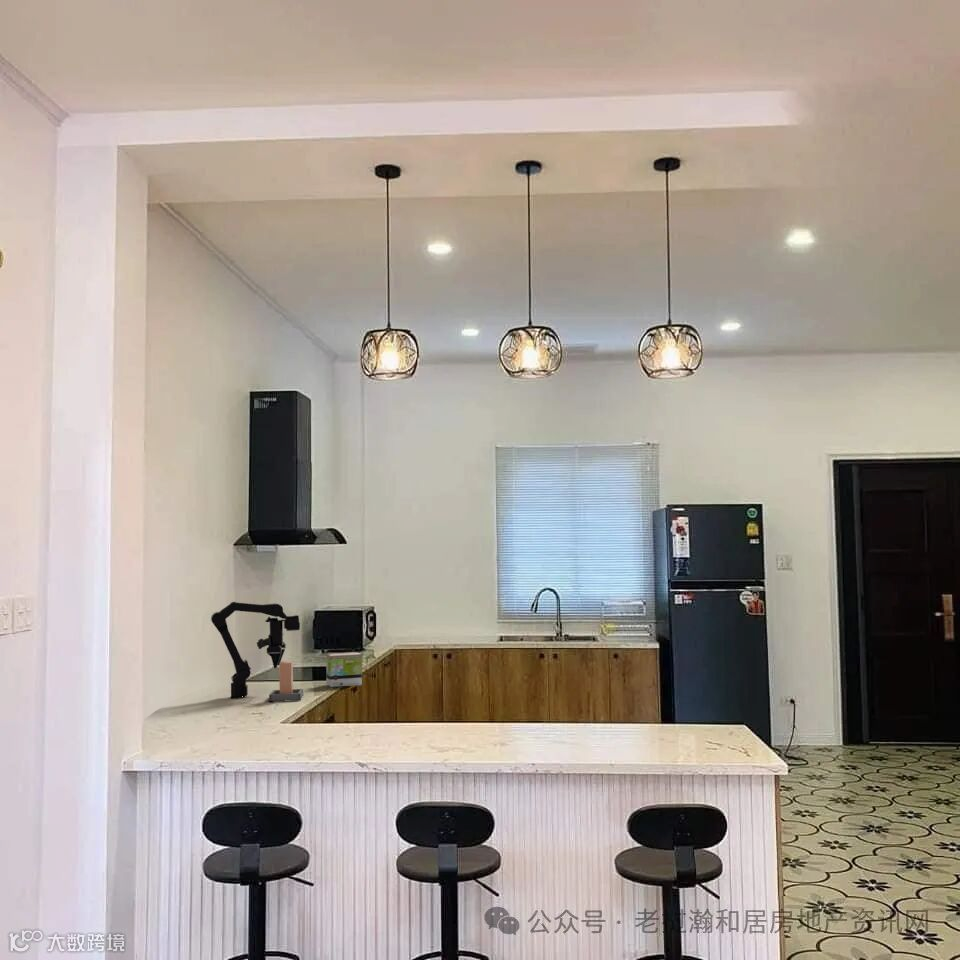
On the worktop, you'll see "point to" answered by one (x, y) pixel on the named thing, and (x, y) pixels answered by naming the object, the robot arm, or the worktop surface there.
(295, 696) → the tray
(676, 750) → the worktop surface
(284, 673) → the peach block
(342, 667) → the tea box
